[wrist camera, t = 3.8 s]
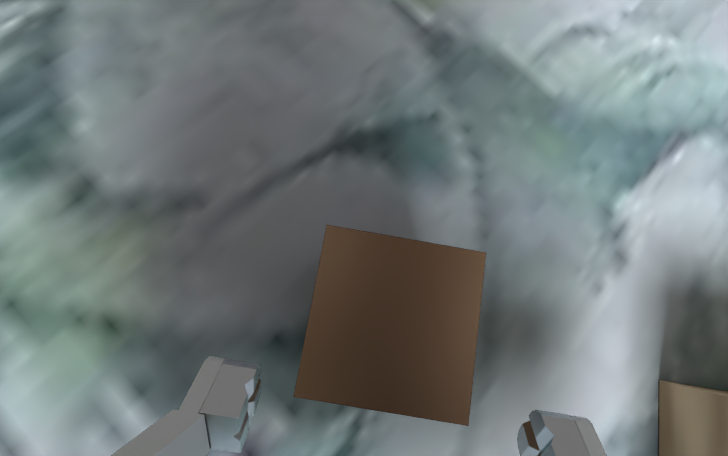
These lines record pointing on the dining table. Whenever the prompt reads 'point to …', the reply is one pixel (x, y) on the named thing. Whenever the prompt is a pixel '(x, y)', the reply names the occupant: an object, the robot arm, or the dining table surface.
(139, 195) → the dining table surface
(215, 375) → the robot arm
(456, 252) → the walnut block
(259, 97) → the dining table surface
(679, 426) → the pale wooden cube
